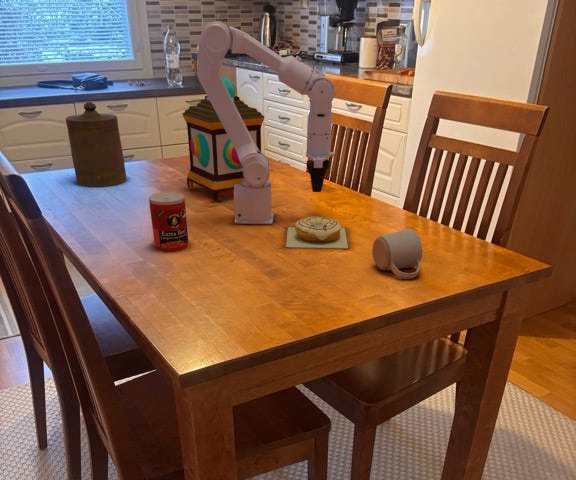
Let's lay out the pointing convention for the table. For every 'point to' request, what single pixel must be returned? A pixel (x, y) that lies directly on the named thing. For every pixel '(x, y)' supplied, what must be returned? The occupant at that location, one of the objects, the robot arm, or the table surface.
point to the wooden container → (96, 148)
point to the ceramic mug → (398, 252)
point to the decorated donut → (318, 229)
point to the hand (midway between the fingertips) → (316, 191)
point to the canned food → (169, 221)
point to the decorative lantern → (217, 144)
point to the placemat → (298, 242)
